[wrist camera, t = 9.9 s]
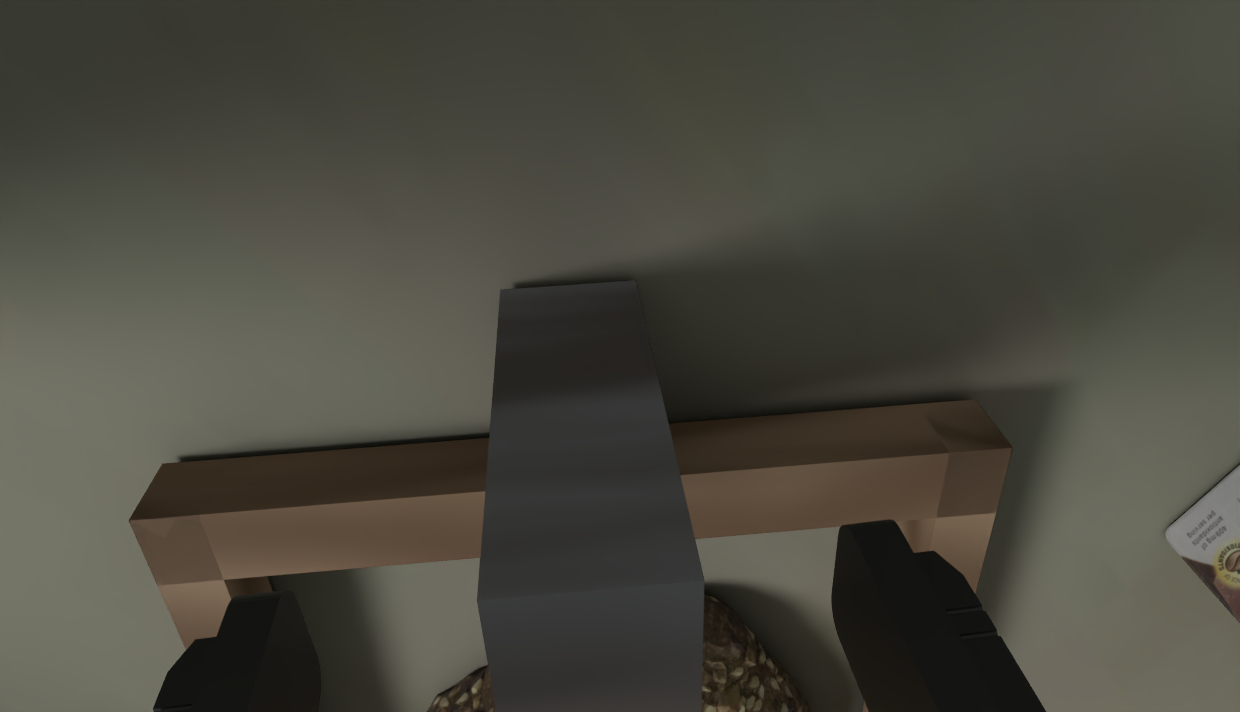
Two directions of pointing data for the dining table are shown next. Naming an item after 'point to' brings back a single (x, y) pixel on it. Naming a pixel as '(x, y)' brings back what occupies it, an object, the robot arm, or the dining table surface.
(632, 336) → the frame
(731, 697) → the bread roll
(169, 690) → the robot arm
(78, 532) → the dining table surface
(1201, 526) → the coffee box
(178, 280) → the dining table surface
